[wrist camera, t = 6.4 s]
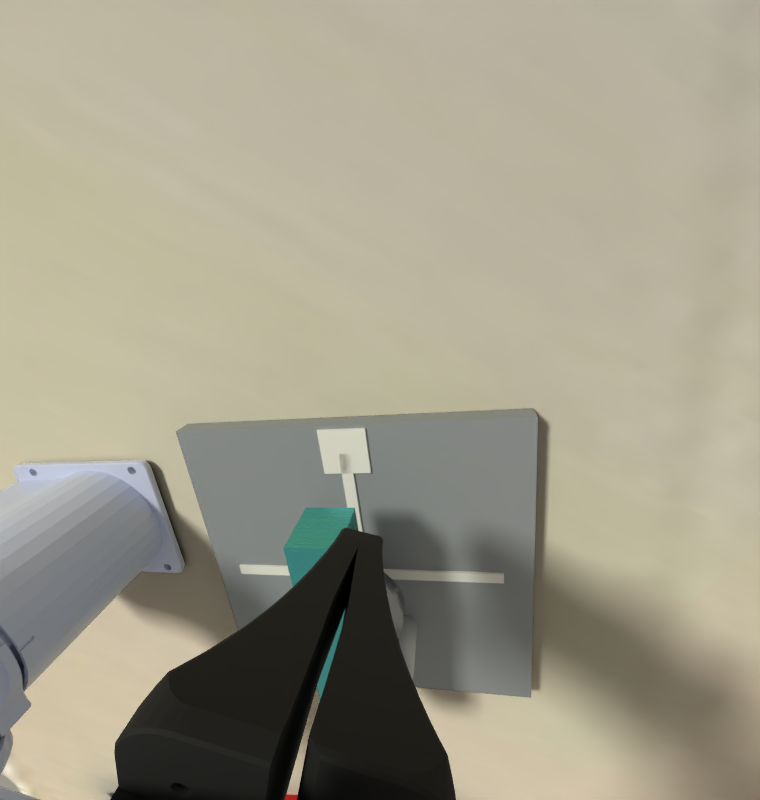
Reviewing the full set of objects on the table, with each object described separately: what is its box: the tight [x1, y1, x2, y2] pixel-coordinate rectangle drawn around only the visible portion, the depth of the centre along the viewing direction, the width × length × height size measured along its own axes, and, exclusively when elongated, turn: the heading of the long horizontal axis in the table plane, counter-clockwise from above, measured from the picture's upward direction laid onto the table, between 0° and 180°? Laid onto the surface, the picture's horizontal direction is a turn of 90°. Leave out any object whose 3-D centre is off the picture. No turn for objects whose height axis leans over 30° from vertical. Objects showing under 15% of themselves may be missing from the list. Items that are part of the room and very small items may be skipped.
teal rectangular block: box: [283, 508, 405, 699], centre depth 18 cm, size 13×5×4 cm, turn 7°
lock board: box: [176, 409, 538, 698], centre depth 21 cm, size 18×18×4 cm
